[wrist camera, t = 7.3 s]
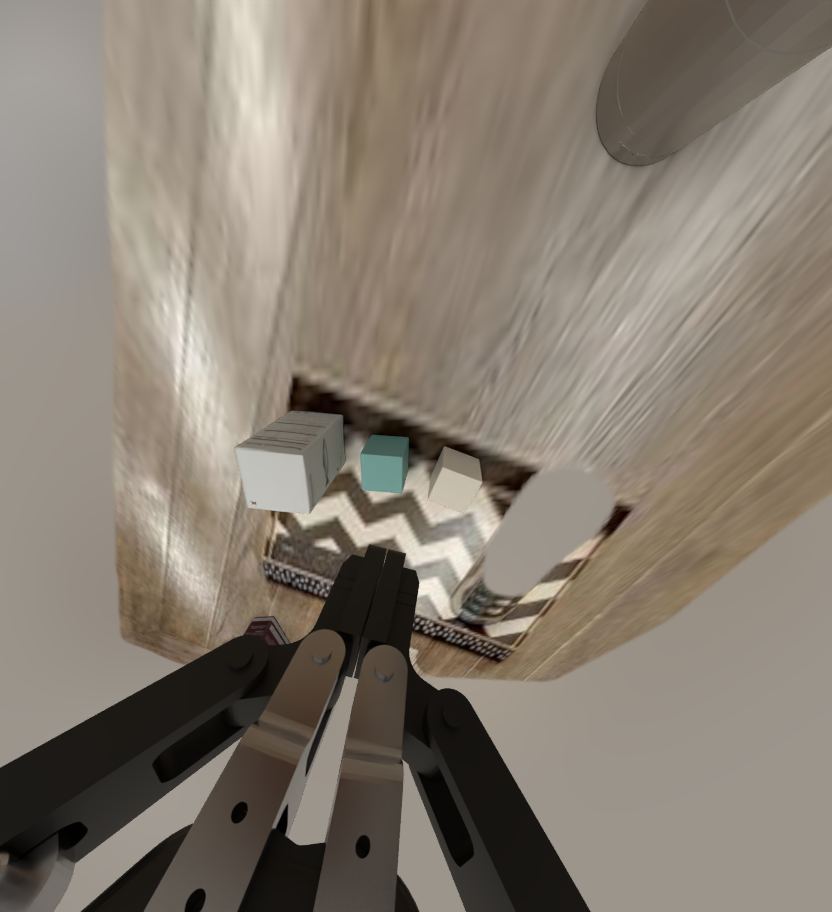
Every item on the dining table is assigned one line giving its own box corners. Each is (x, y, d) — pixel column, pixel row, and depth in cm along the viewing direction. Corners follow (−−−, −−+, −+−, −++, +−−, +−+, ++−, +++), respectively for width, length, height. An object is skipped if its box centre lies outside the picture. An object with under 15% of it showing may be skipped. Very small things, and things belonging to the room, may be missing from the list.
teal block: (372, 434, 42) (360, 454, 37) (408, 437, 42) (402, 457, 37) (373, 467, 45) (362, 490, 39) (408, 470, 44) (401, 493, 39)
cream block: (444, 446, 42) (442, 467, 37) (478, 459, 42) (482, 482, 37) (430, 475, 44) (427, 500, 39) (463, 488, 44) (465, 513, 39)
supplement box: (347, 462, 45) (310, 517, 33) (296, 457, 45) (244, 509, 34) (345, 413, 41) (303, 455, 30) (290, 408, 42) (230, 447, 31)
